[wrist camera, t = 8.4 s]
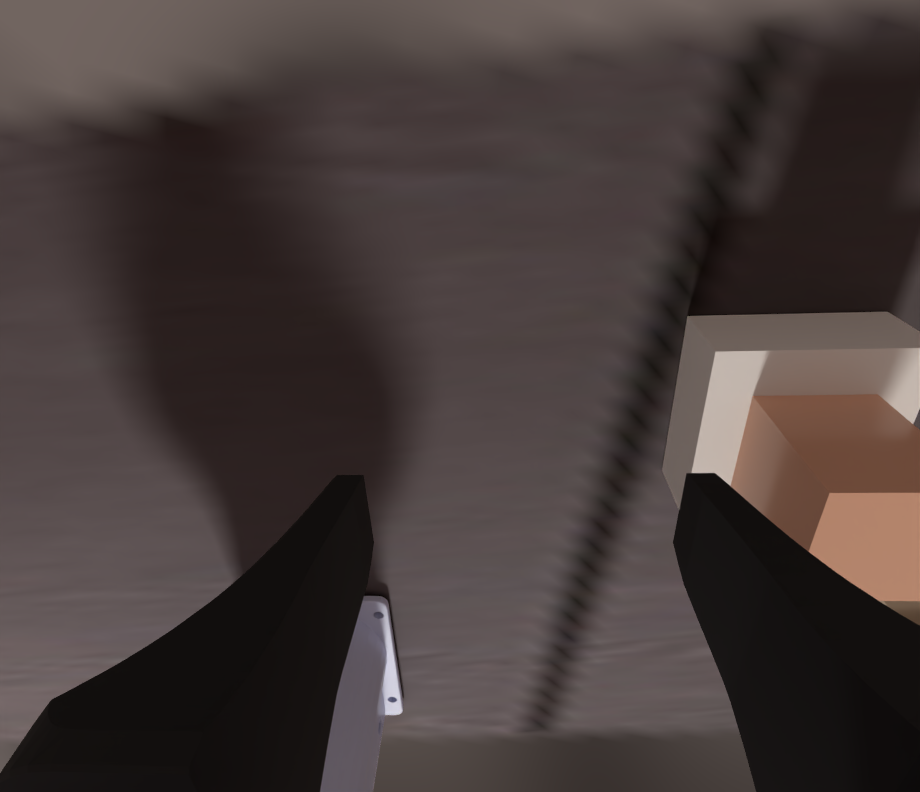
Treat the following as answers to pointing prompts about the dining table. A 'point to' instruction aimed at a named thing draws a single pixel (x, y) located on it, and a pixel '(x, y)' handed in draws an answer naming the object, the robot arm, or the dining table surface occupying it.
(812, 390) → the slab
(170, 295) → the dining table surface
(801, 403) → the terracotta block
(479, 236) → the dining table surface
